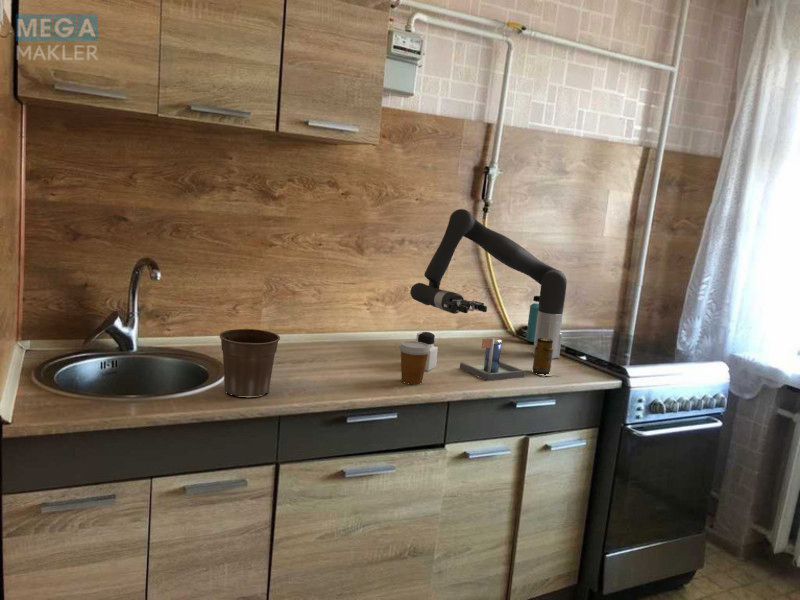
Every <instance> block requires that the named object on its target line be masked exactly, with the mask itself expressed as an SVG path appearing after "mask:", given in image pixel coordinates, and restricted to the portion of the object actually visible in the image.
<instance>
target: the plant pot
mask: <svg viewBox="0 0 800 600" xmlns="http://www.w3.org/2000/svg"><path fill="white" fill-rule="evenodd" d="M219 338H220V344H221V346H220V347H221V351H222V359H223V360H222V361H223V364H222V365H223V382H224V383H223V384H224V385H223V386H224V387H223V389H224V392H225V393H226V392H227V393H229V394H232V395H233V396H235V395H236V397H237V396H259V395H267V394H266V393H268V392H269V393H270V388H271V387H270V385H271V378H272V374H273V373H272V372H273V367H274V362H275V355H276V352H277V350H278V344H279V341H280V340H281V337H280V335H279V334H277V333H275V332H272V331H268V330H264V329H263V330H262V329H255V328H254V329H253V328H235V329H228V330H224V331H221V332H220V333H219ZM227 393H226V394H227ZM269 393H268V394H269Z"/></svg>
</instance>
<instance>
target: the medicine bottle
mask: <svg viewBox="0 0 800 600" xmlns="http://www.w3.org/2000/svg"><path fill="white" fill-rule="evenodd" d="M435 337H436V335H435V334H434V333H431V332H429V331H419V332H417V333H416V340H415V342H422V343H425V344H428V345H429V349H430V352H429V353H428V357H427V361H426V366H425V370H426V371H425V372H429V370H430V371H431V370H433V369H435V368H436V367H437V363H438V362H437V360H438V353H439V352H438V351H439V348H438V346H435V339H436V338H435Z"/></svg>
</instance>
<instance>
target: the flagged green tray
mask: <svg viewBox="0 0 800 600" xmlns="http://www.w3.org/2000/svg"><path fill="white" fill-rule="evenodd" d="M489 338H490V339H487V338H483V339H482V342H481V349H486V348H490V354H489V363H488V372H485V371H484V364H477V365H469V364H467V363H465V362H459V369H460V370H462V369H463V371H465V372H468V373H469V372H470V373H469V374H471V373H472V375H473V376H476V377H478V376H479V377H478V378H480V377H481V379H483V380H485V381H487V380H488V381H489V380H491V381H499V380H506V379H508V378H509V379H515V378H516V379H518V378H524V377H525V374H526V373H525V372H526V371H525V370H523V369H521V368H518V367H516V366H513V365H511V364H508V363H506V362H503V361H501V360H500V361H499V370H498V373H491V364H492V355H493V346H494V338H495V337H489ZM488 381H487V382H488ZM489 382H490V381H489Z"/></svg>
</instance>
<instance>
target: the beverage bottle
mask: <svg viewBox="0 0 800 600" xmlns="http://www.w3.org/2000/svg"><path fill="white" fill-rule="evenodd" d="M539 298H540V295H533V300H532V301H533V303H532V304H530V306H529V312H528V319H527V325H526V326H527V328H526V337H525V338H526V340H527V341H530V342H534V340H535V332H536V324H537V316H538V307H539ZM534 302H537V303H534Z"/></svg>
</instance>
